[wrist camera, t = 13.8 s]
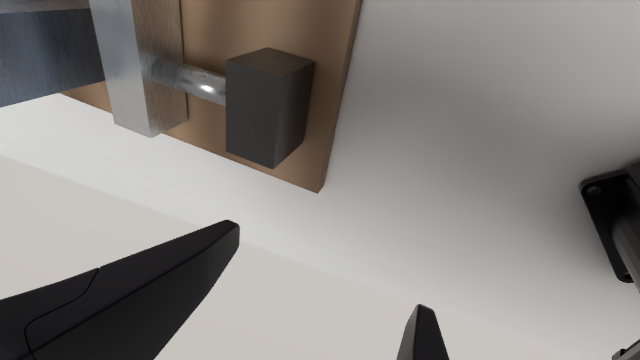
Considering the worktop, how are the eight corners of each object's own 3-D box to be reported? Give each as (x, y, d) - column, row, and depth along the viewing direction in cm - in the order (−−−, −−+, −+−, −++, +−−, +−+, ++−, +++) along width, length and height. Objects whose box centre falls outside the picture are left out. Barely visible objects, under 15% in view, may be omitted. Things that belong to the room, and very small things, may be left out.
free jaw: (320, 31, 17) (285, 41, 14) (300, 162, 21) (270, 192, 18) (137, -17, 20) (76, -17, 17) (154, 108, 24) (108, 126, 21)
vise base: (363, -8, 16) (331, -5, 13) (323, 186, 23) (294, 223, 19) (-15, -92, 23) (-106, -106, 19) (40, 78, 30) (-20, 91, 26)
